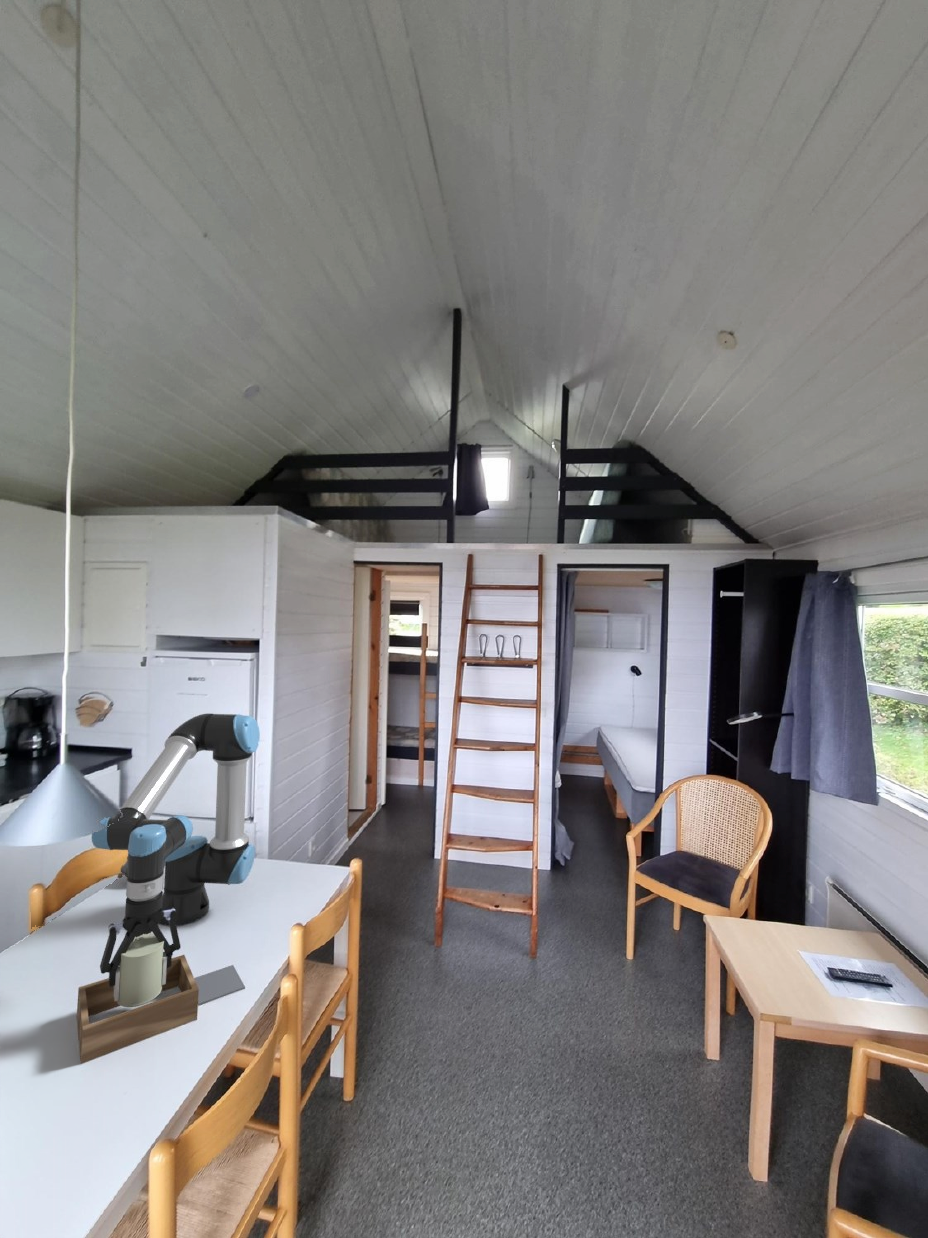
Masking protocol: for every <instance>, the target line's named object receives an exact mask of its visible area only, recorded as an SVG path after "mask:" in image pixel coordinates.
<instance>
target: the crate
mask: <svg viewBox="0 0 928 1238" xmlns="http://www.w3.org/2000/svg"><path fill="white" fill-rule="evenodd" d="M194 978H195V977H194V974H193V972H192V969H191V967H190V964H189V963H188V960H187V958H186V955H185V954H181V955H179V956H175V957H172V960H171V966H170V967H169V968H166V984H164V985H162V990H161V992H160V993H162V992H164V991H168V990H171V989H174V988H177V987H178V989H179V990H180V992H178V993H176V994H172V995H170V996H166V997H164V998H161V999H158V1000H155V1001H153V1002H150V1003H149V1002H148V1003H146V1004H143V1005H140V1006H137V1007H134V1008H133V1009H130V1010H127V1011H123V1012H121V1013H118V1014H116V1015H113V1016H109V1017H106V1018H103V1019H101V1020H98V1021H95V1022H92V1023H90V1020H89V1019H90V1018H89V1017H91V1016H95V1015H97V1014H98V1015H99V1014H101V1013H103V1012H106V1011H109V1010H113V1009H115V1008H118V1007H121V1006H120V1005H119V1004H118V1003H117V1001H115V1000H114V986H111V987H110V985H109V977H108V978H104V979H102V980H98V981H95V982H91V983H88V984H86V985H82V986H79V987H78V989H77V990H78V992H77V1003H76V1004H77V1008H76V1025H77V1026H76V1027H77V1038H78V1049H79V1060H80V1065H82V1064H85V1063H87V1062H90V1061H92V1060H95V1059H98V1058H100V1057H103V1056H105V1055H108V1054H111V1053H114V1052H116V1051H118V1050H121V1049H125V1048H126V1047H129V1046H132V1045H135V1044H137V1043H140V1042H141V1041H142V1042H143V1041H144V1040H147V1039H150V1038H153V1037H155V1036H158V1035H160V1034H163V1033H165V1032H168V1031H171V1030H173V1029H177V1028H179V1027H181V1026H183V1025H186V1024H189V1023H191V1022H194V1021H196V1020H198V1010H199V1006H198V995H199V989H198V986H197V984H196V981H195V979H194Z"/></svg>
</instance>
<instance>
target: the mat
mask: <svg viewBox="0 0 928 1238" xmlns="http://www.w3.org/2000/svg"><path fill="white" fill-rule="evenodd" d="M194 979H195V981H196V984H197V986H198V989H199V995H198V1007H199V1006H201V1005H203V1004H204V1005H205V1004H206V1003H209V1002H213V1001H215V1000H218V999H220V998H223V997H226V996H228V995H231V994H233V993H237V992H239V991H241V990H244V989H246V986H245V985H244V982H243V980H242V979H241V977H240V975H239V973H238V971H237V970H236V967H235V966H234V964H232V965H229V966H226V967H223V968H220V969H216V970H214V971H211V972H208V973H205V974H202V975H200V976H199V975H198V976H195V977H194Z"/></svg>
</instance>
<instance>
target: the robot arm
mask: <svg viewBox="0 0 928 1238" xmlns="http://www.w3.org/2000/svg"><path fill="white" fill-rule="evenodd" d="M259 742H260V726H259V724H258V722H257V719H255V718H254V717H253V716H251V715H243V714H240V713H239V714H231V713H230V714H229V713H210V712H209V713H202V714H199V715H196V716H193V717H192V718H190V719H188V720H186V721H185V722H183V723H182V724H180V725H179V726H178V727H177V728H176V729H174V730H173V731H172V733H170V735H169V736H168V737H167V739H166V740H165V742H164V748H163V750H162V751H161V752H160V754H159V756H158V757H157V758H156V760H155V761H154V762H153V763H152V765H151V766H150V768H149V770H148V771H146V773H145V774H144V776H143V777H142V779H141V780H140V782H139V783H138V784H137V785H136V787H135V788H134V790H133V791H132V793H131V794H130V795H129V796H128V798H127V799H126V801H125V802H124V803H123V805H122V806H121V807H120V809H119V810H121V812H122V813H123V817H122V818H120V816H121V813H120V812H119V810H118V811H117V813H116V814H115V815H114V816H113V817H112V816H109V817H108V818H106V817H103V818H104V819H103V818H102V819H103V820H101V819H100V820H101V821H100V823H101V824H104V825H105V826H109V824H111V825H110V826H109V827H105V826H104V827H105V828H104V829H102V830H100V831H98V832H94V833H91V842H92V845H93V847H95V848H97V849H101V850H109V851H113V850H117V851H127V857H128V875H127V877H126V891H125V892H126V893H125V897H126V899H125V907H124V908H125V911H124V918H123V920H122V921H121V922H118V923H116V924H115V923H110V924H109V925H108V936H107V939H106V940H107V942H106V945H105V948H104V951H103V954H102V958H101V961H100V965H99V968H100V974H106V973H108V978H109V985H110V987H111V986H114V1000H115V1001H118V1000H119V983H120V970H119V965H120V963H121V954H123V953H126V952H127V950H128V948H129V946H130V944H131V943H132V942H133V940H134V938H135V937H139V936H141V935H144V934H154V935H155V936H156V938H157V939H158V941H159V943H160V942H163V941H164V945H163V962H162V985H164V984H166V968H169V967H170V966H171V960H172V958H173V955H174V952H175V951H179V950H180V949H181V941H180V937H179V932H178V926H182V925H183V926H184V925H188V924H191V923H194V922H197V921H198V920H200V919H202V918H203V917H205V916H206V915H207V914H208V912H209V911H210V898H209V896H208V893H207V889H206V886H205V884H217V885H228V886H229V885H240V884H243V883H244V882H245V880H247V879H248V876H249V875H250V873H251V870H252V868H253V865H254V861H255V857H256V848H255V845H253V844H249V843H250V842H249V841H250V838H249V836H248V834H246V833H245V822H246V821H245V819H246V818H245V816H246V815H245V813H246V793H247V792H246V789H247V787H246V786H247V766H248V765H247V763H248V760H250V759H252V757H253V753H255V752H256V751H257V749H258V747H259ZM201 751H205V752H206V751H209V752H212V760H213V761H214V762H215V763H217V772H216V797H215V799H216V800H215V802H216V803H215V804H216V805H215V827H214V829H215V830H214V831H215V833H214V837H213V838H212V839H211V840H210V841H209V840H208V838H207V836H204V835H192V834H193V831H194V827H193V823H192V820H191V819H190V818H189V817H187V816H185V815H183V814H178V815H174V816H172V817H169V818H168V819H150V818H151V816H152V814H153V813H154V812H155V810H156V809H157V807H158V805H160V803H161V801H162V800H163V798H164V797H165V795H166V794H167V793H168V791H169V789H170V788H171V786H172V785H173V783H174V782H175V780H176V779H177V778H178V776H179V774H180V773H181V771H182V770H183V768H184V767H185V765H186V764H187V763H188V761H189V760H191V759H193V758H194V757H195V756H196V755H197V754H198V753H199V752H201ZM118 812H119V813H120V814H119V813H118ZM118 819H119V821H118ZM112 823H114V824H112ZM208 842H209V843H208ZM165 858H166V859H165ZM164 860H165V868H164ZM159 924H161V925H163V926H169V930H170V931H169V932H170V935H171V936H170V937H171V940H172V943H171V944H170V943H169V942H168V939H167V938H166V937H165V936H164V934H163V932H162V931H161V929H160V927H159ZM122 929H124V930H125V931H126V932H125V934H124V937H123V940H122V941H121V943H120V944H119V947H118V949H117V950H116V952H115V954H114V955H113V953H114V949H115V945H116V942H117V936H119V934H120V932H121V930H122ZM112 956H113V958H112Z"/></svg>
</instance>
